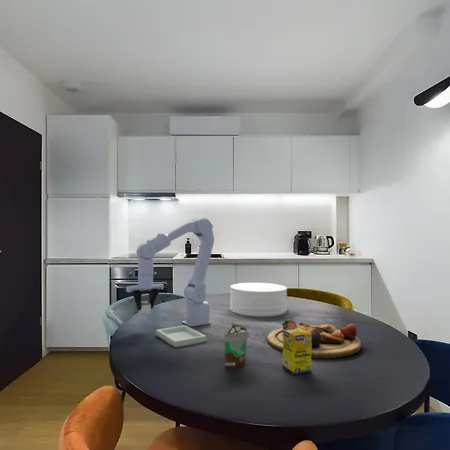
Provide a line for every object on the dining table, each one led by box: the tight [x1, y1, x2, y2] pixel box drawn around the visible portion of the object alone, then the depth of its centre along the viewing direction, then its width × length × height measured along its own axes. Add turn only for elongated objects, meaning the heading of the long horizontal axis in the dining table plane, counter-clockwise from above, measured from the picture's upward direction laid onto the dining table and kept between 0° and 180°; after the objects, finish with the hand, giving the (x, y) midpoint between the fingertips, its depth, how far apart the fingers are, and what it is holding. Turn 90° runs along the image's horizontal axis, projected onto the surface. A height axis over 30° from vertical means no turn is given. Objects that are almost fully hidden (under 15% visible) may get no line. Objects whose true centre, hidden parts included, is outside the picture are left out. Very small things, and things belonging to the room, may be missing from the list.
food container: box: [223, 323, 250, 369], centre depth 104 cm, size 12×6×10 cm, turn 168°
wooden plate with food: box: [266, 318, 362, 359], centre depth 124 cm, size 32×32×8 cm
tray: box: [155, 324, 207, 348], centre depth 126 cm, size 12×16×2 cm
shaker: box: [138, 300, 152, 315], centre depth 137 cm, size 4×4×4 cm
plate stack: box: [229, 282, 288, 317], centre depth 175 cm, size 28×28×12 cm
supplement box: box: [282, 328, 312, 376], centre depth 99 cm, size 6×6×11 cm
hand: (145, 309), depth 137 cm, fingers closed on shaker, 4 cm apart
